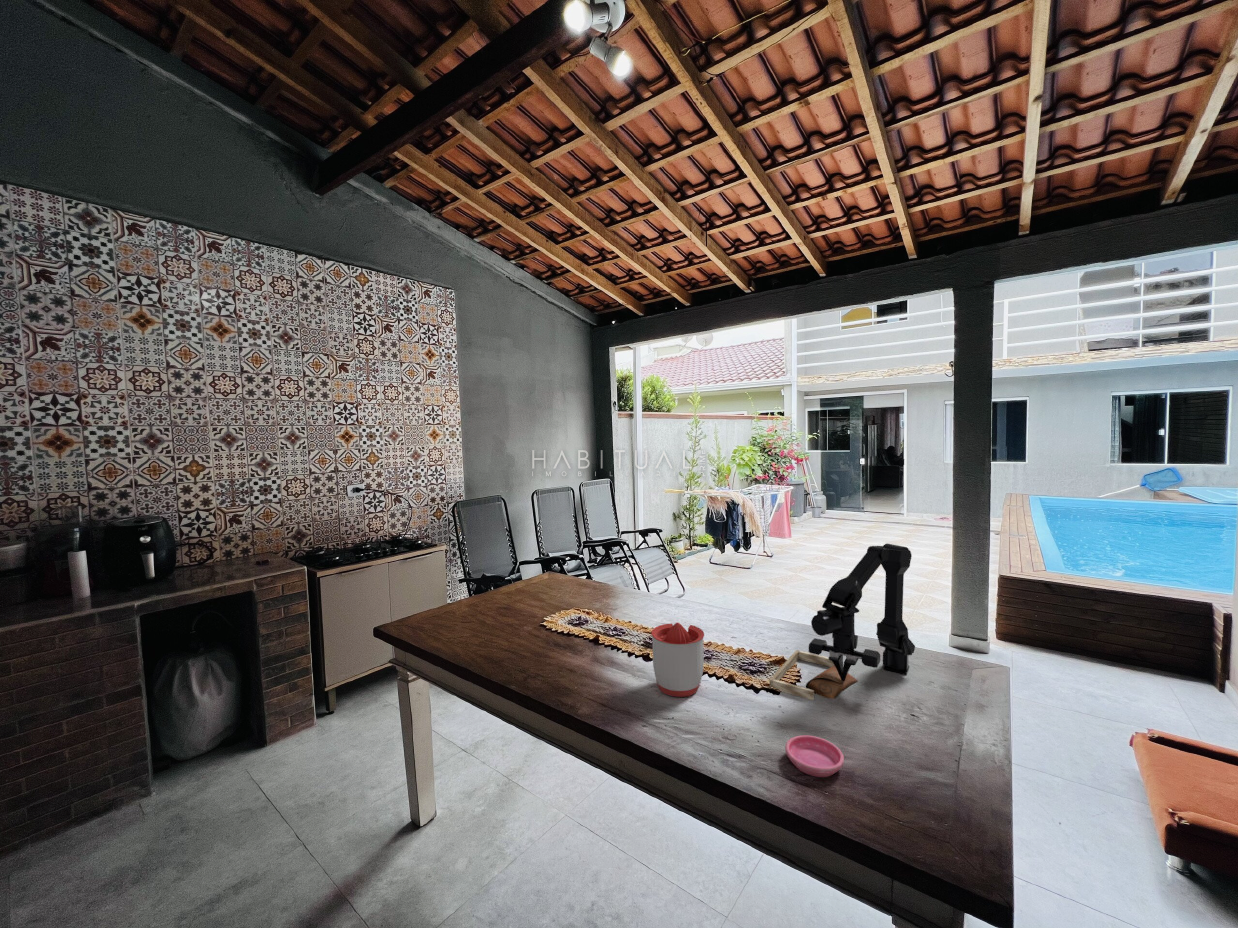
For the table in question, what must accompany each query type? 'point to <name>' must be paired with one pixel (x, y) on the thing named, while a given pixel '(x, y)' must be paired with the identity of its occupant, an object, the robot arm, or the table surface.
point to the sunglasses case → (830, 683)
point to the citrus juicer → (678, 658)
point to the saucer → (814, 755)
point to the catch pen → (788, 664)
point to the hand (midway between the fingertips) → (843, 680)
